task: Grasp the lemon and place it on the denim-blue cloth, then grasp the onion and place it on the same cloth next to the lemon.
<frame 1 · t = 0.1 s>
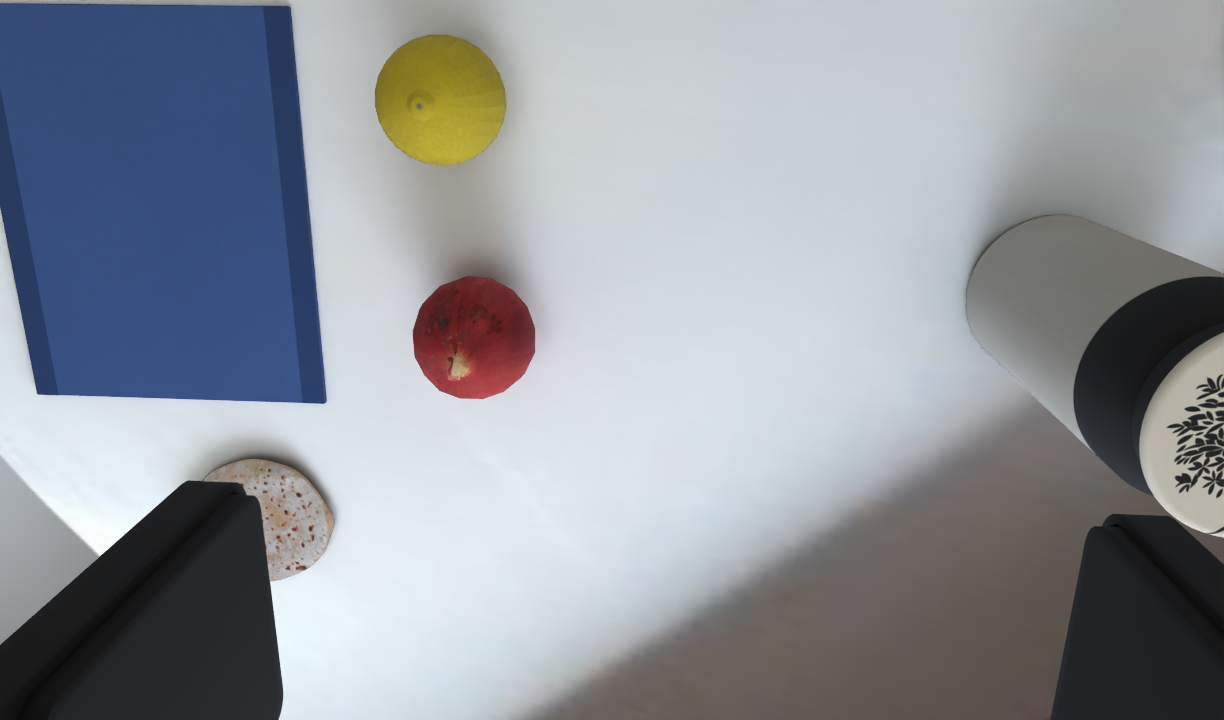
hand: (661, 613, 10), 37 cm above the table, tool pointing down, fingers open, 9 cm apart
lemon: (462, 96, 45), on the table
onion: (489, 316, 48), on the table
flatbread: (268, 514, 52), on the table
travel mug: (1044, 292, 46), on the table
cloth: (156, 214, 47), on the table
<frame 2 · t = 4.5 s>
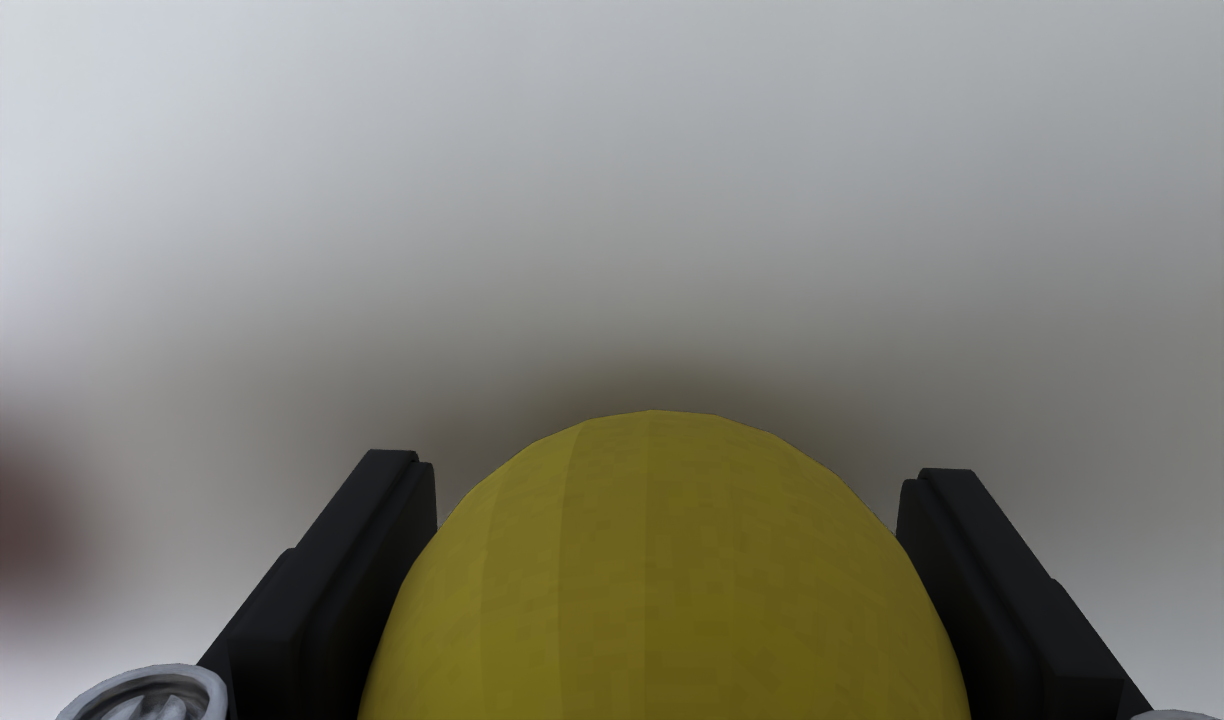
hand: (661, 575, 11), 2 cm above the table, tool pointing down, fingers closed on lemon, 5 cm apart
lemon: (663, 509, 13), on the table, touching gripper
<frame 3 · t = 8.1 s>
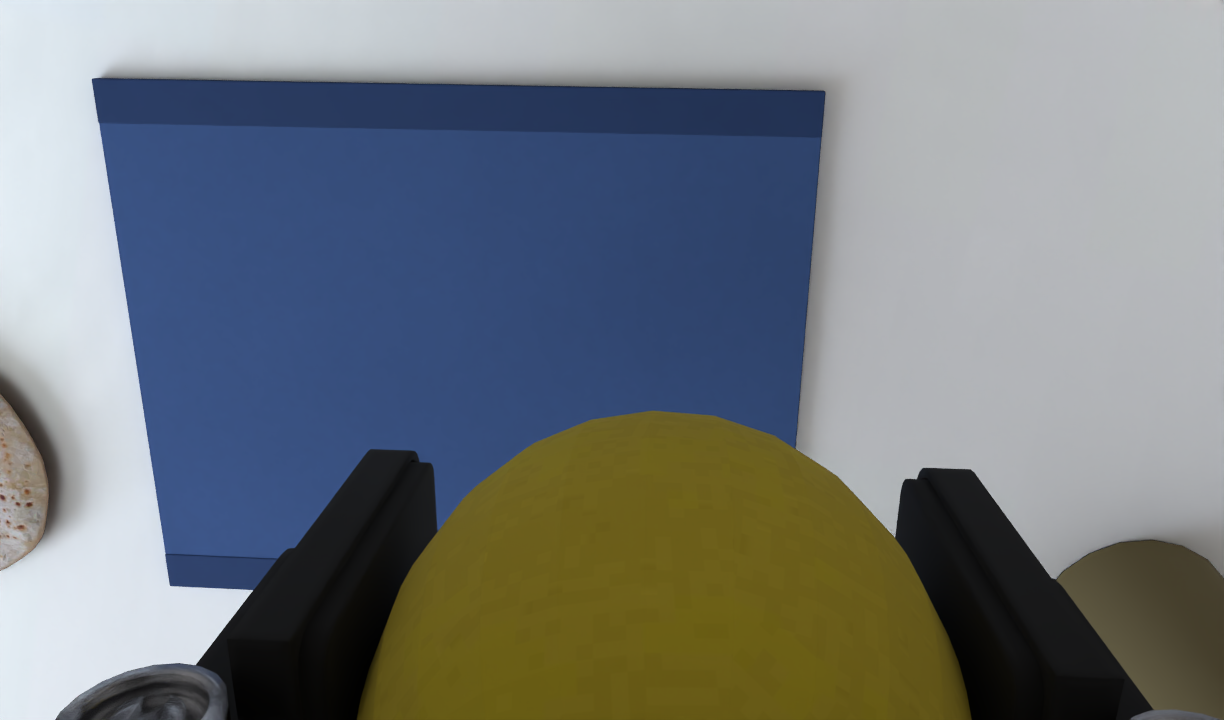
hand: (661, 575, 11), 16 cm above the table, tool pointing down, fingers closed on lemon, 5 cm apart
lemon: (663, 510, 13), point 14 cm above the table, touching gripper
olive pawn: (1129, 621, 29), on the table
cloth: (463, 362, 28), on the table
when the fingers open (2 cm above the table, at t = 11.7 s): lemon stays where it is, resting on cloth.
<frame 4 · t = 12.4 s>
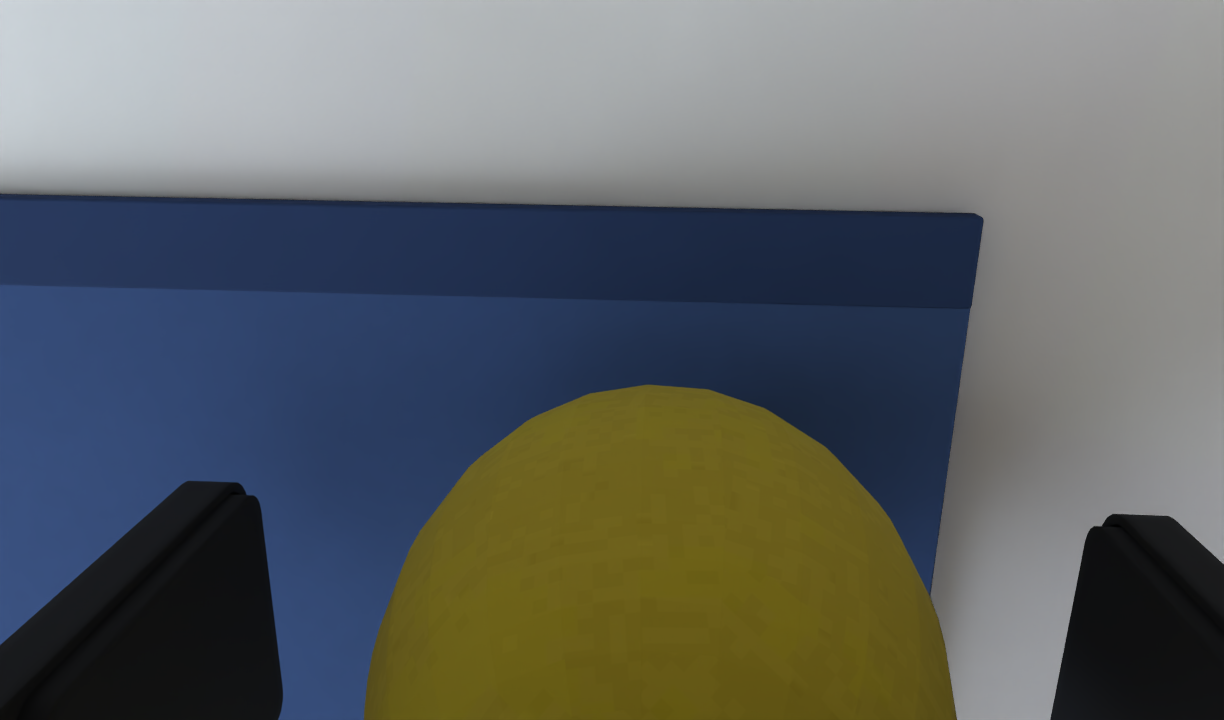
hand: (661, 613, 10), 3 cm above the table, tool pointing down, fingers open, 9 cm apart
lemon: (659, 487, 13), resting on cloth
cloth: (280, 694, 15), on the table
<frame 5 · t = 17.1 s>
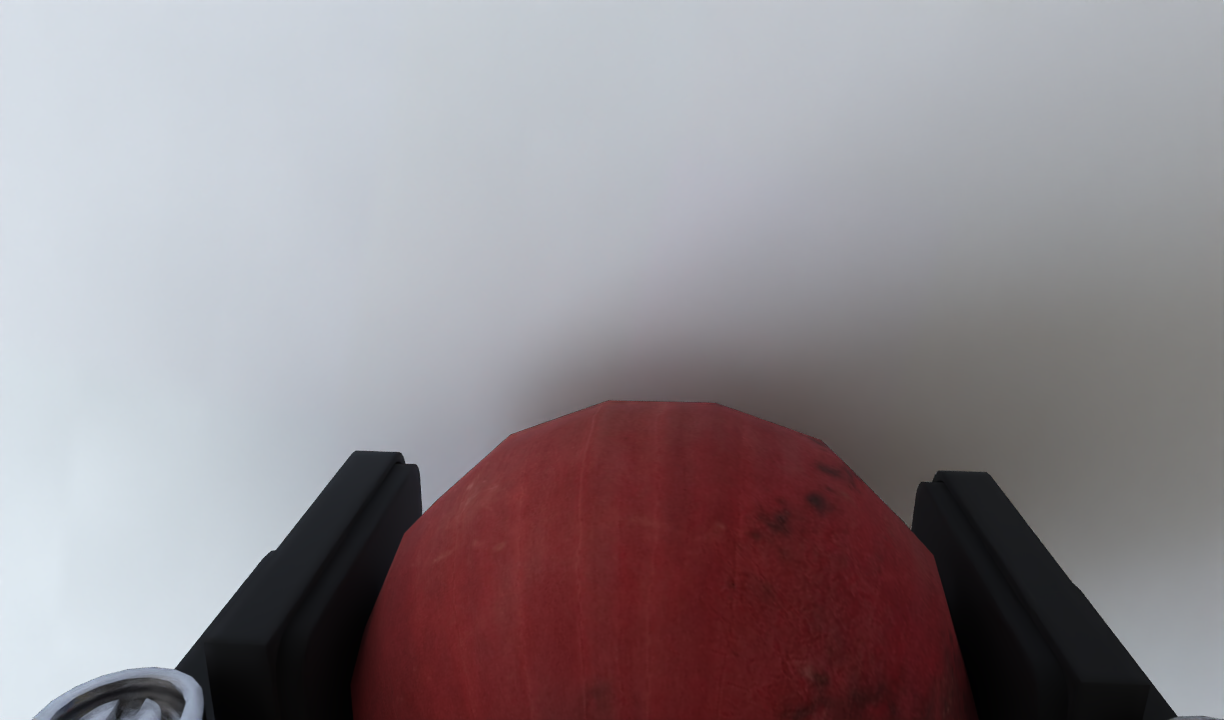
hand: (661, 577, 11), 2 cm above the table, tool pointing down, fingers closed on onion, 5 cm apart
onion: (662, 509, 13), on the table, touching gripper
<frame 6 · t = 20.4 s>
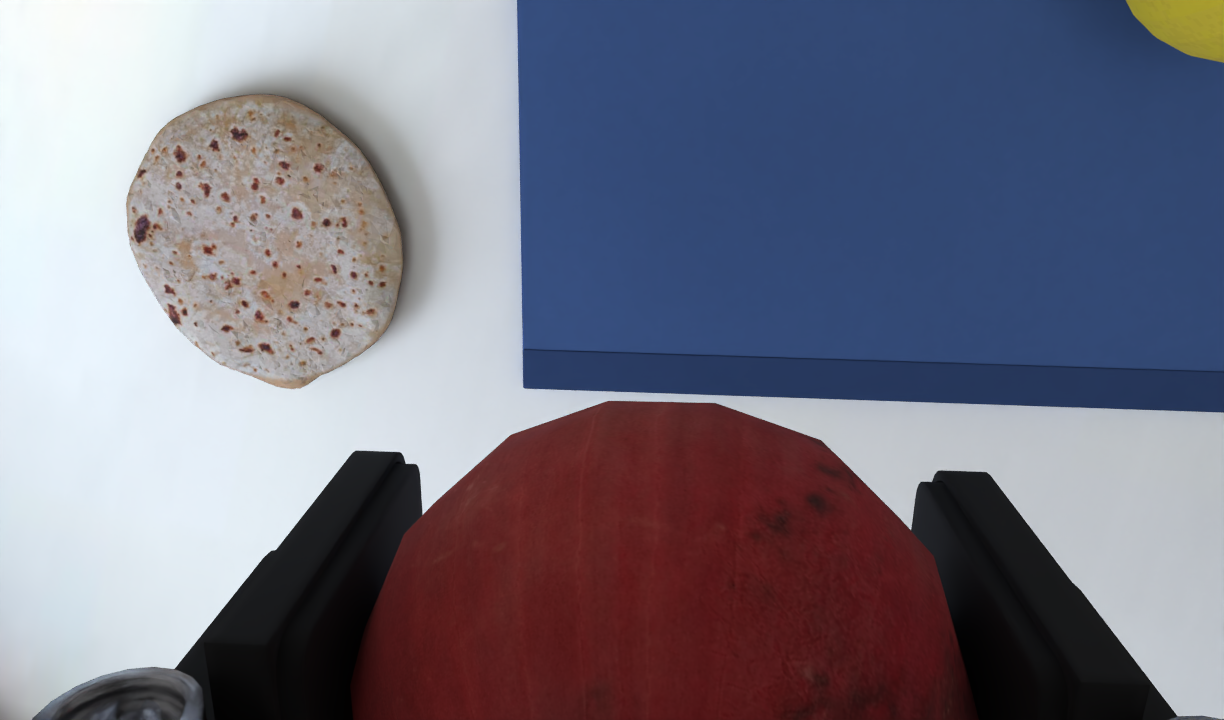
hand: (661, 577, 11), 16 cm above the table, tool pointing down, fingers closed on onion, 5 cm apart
onion: (662, 509, 13), point 14 cm above the table, touching gripper
flatbread: (278, 243, 26), on the table
cloth: (901, 109, 24), on the table
when the fingers open (2 cm above the table, at t = 23.9 s): onion stays where it is, resting on cloth.
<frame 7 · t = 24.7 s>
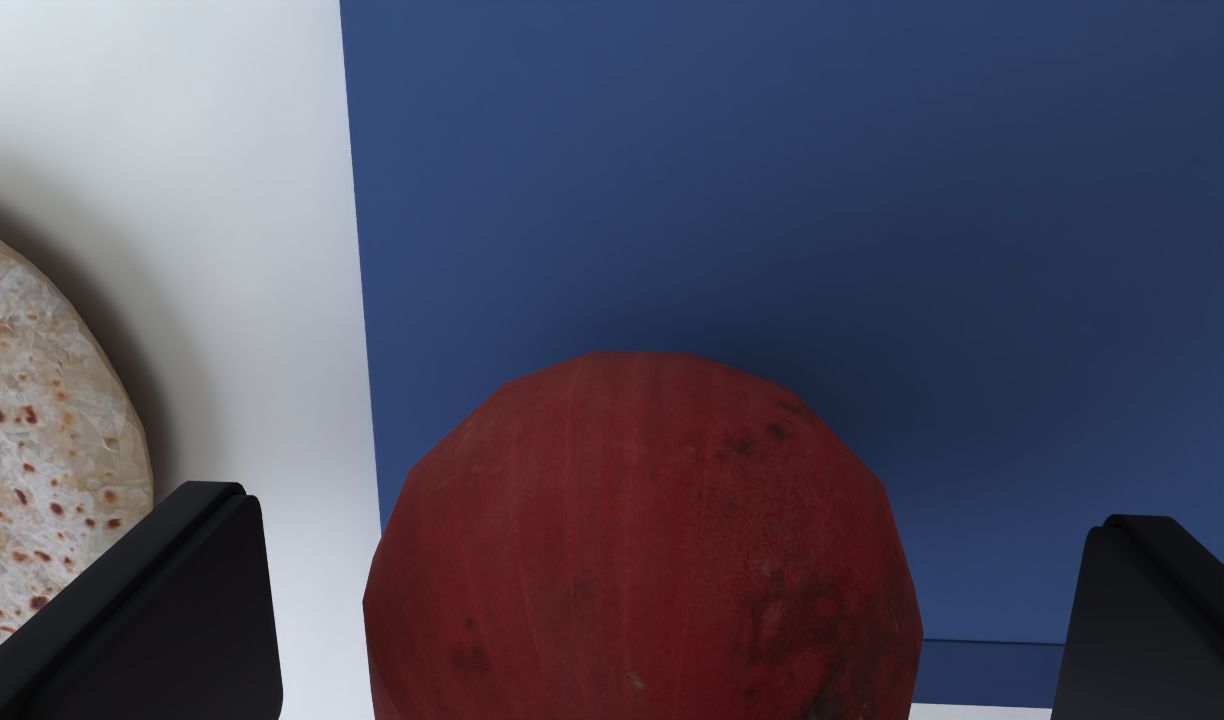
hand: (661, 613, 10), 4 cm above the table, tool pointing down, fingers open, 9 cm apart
onion: (645, 462, 14), resting on cloth
cloth: (1095, 199, 12), on the table
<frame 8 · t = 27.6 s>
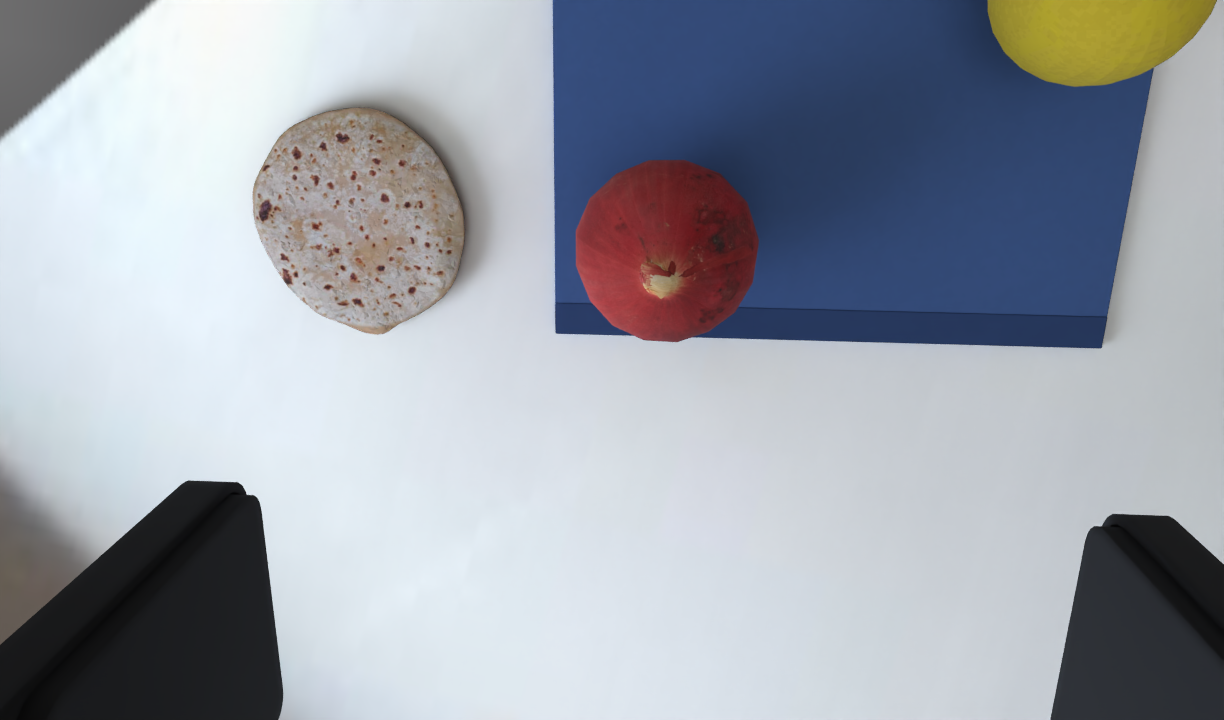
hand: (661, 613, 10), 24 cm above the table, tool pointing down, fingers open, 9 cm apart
onion: (666, 229, 33), resting on cloth
flatbread: (367, 221, 34), on the table
cloth: (842, 117, 32), on the table
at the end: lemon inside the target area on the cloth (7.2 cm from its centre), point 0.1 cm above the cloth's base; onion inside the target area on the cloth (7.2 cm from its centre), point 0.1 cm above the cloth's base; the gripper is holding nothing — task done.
